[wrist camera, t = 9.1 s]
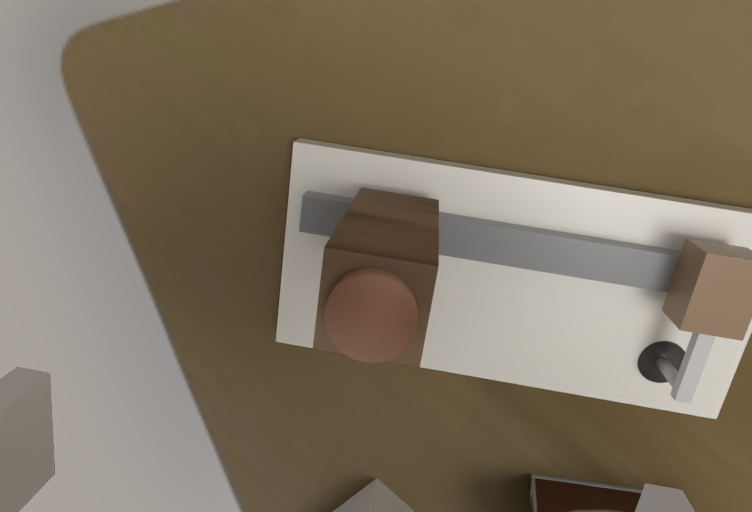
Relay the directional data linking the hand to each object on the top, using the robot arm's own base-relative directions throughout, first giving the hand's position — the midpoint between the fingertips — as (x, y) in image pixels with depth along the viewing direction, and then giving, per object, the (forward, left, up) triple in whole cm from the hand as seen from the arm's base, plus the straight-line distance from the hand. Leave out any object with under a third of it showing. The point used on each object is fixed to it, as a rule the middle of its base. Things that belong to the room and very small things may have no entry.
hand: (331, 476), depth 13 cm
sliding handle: (-2, 0, -20) cm, 20 cm away
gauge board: (-2, -7, -21) cm, 23 cm away
